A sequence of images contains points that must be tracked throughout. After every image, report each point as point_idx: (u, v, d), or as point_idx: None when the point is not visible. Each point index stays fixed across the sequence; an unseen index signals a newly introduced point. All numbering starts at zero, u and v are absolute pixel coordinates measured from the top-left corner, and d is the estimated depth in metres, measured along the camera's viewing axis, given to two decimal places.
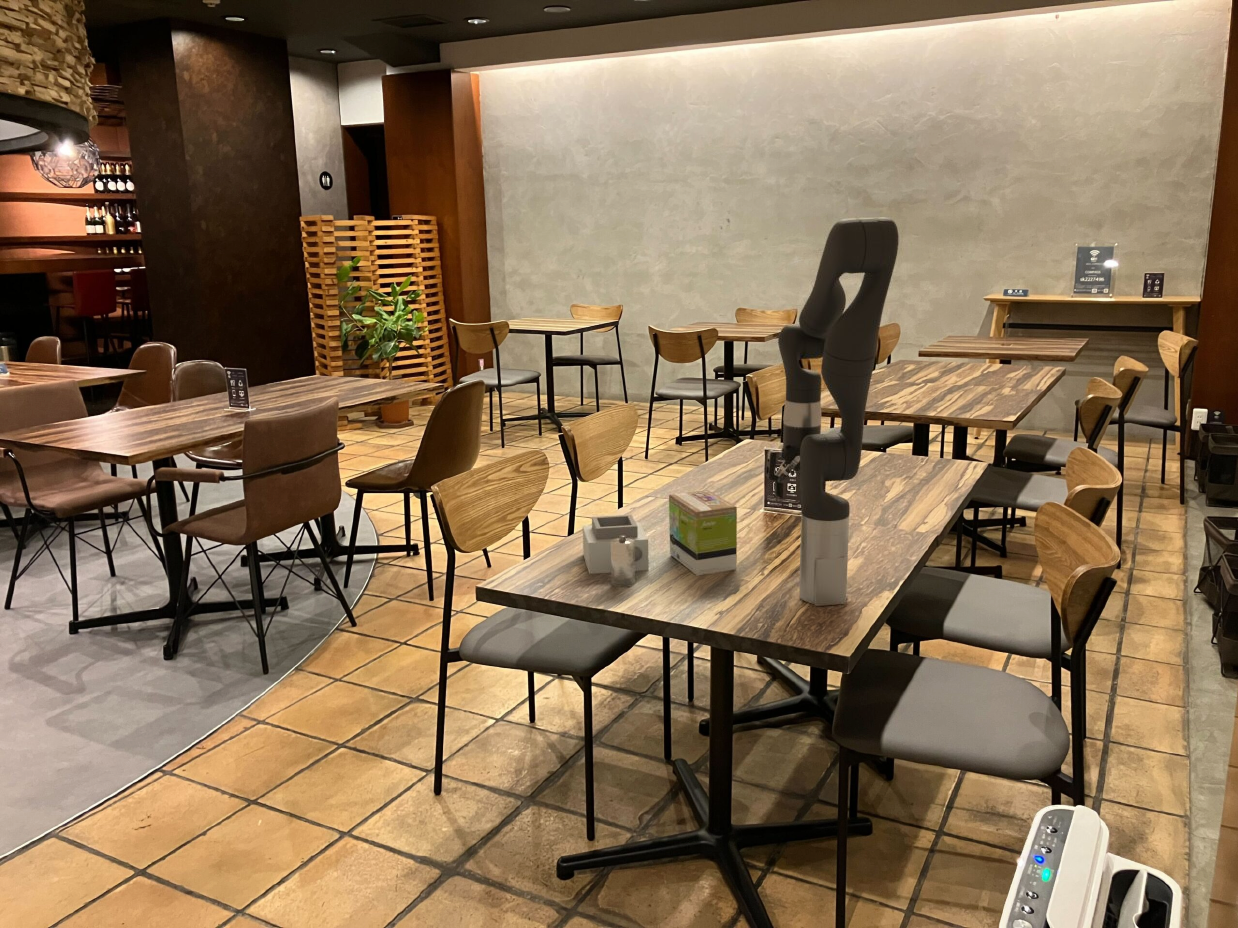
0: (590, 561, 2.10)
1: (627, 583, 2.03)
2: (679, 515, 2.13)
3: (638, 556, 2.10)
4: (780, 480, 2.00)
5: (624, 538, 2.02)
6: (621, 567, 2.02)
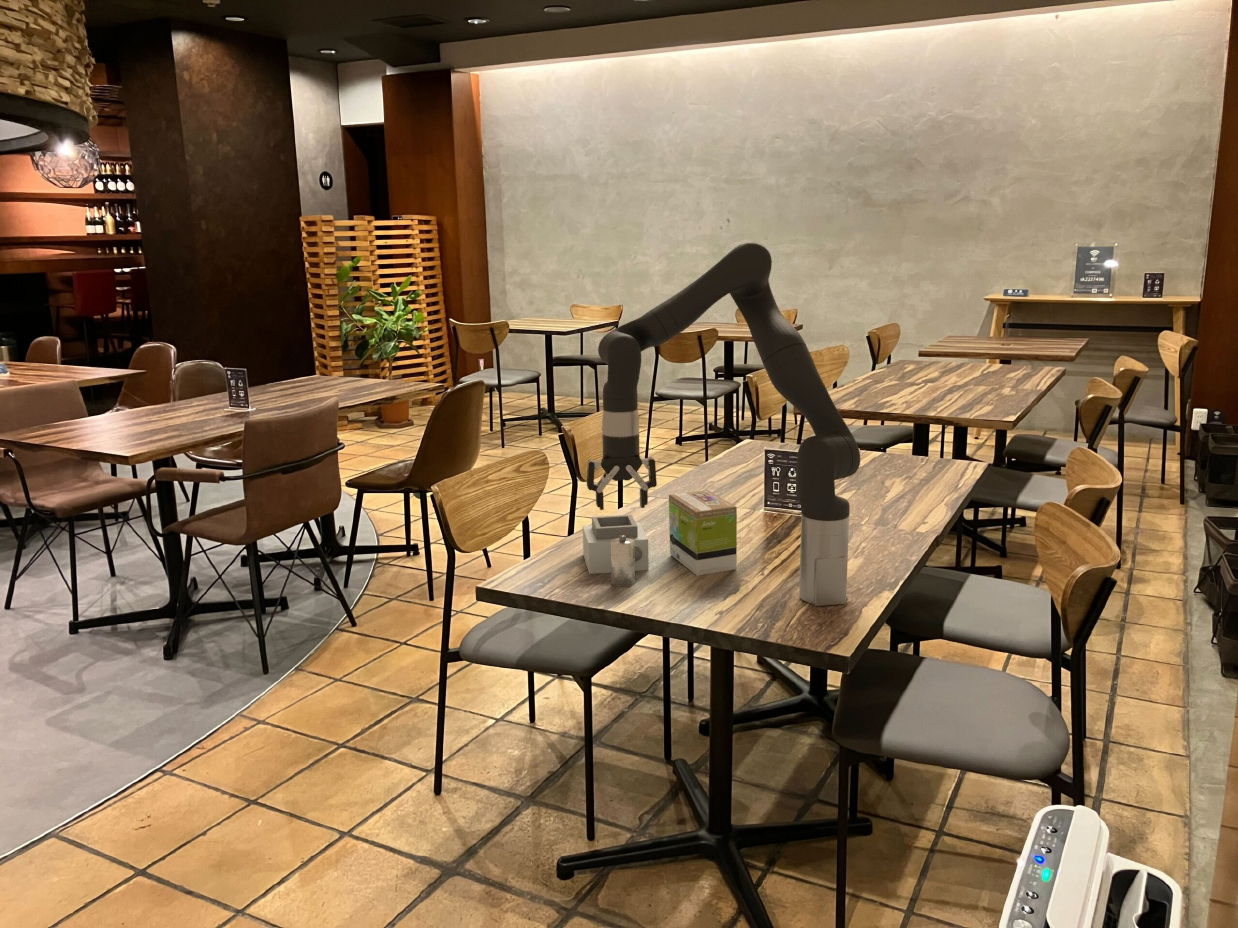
0: (590, 561, 2.10)
1: (627, 583, 2.03)
2: (679, 515, 2.13)
3: (638, 556, 2.10)
4: (600, 490, 1.99)
5: (624, 538, 2.02)
6: (621, 567, 2.02)
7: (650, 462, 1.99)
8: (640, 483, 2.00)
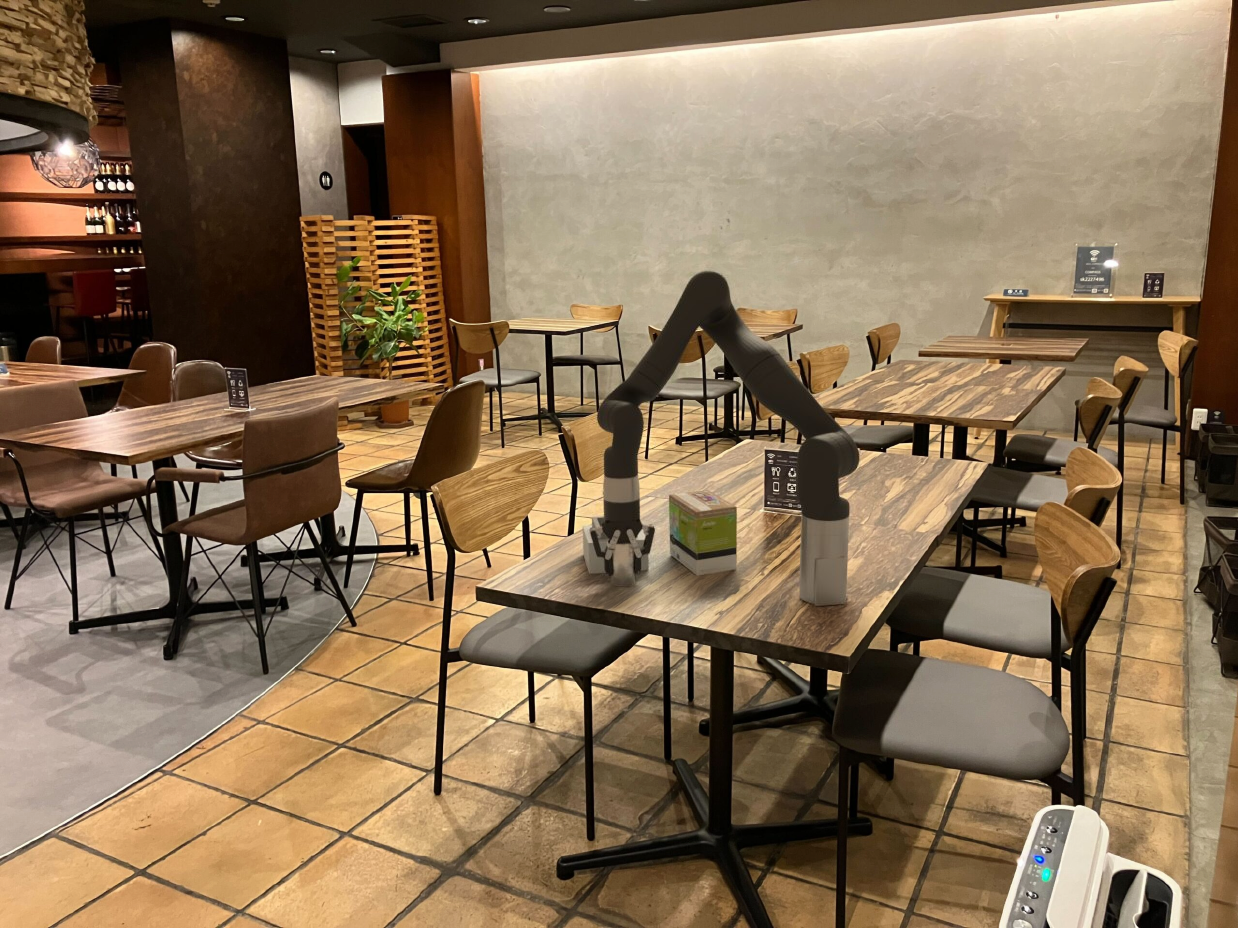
0: (590, 561, 2.10)
1: (627, 583, 2.03)
2: (679, 515, 2.13)
3: None
4: (608, 557, 2.02)
5: None
6: (621, 567, 2.02)
7: (650, 530, 2.02)
8: (635, 549, 2.02)
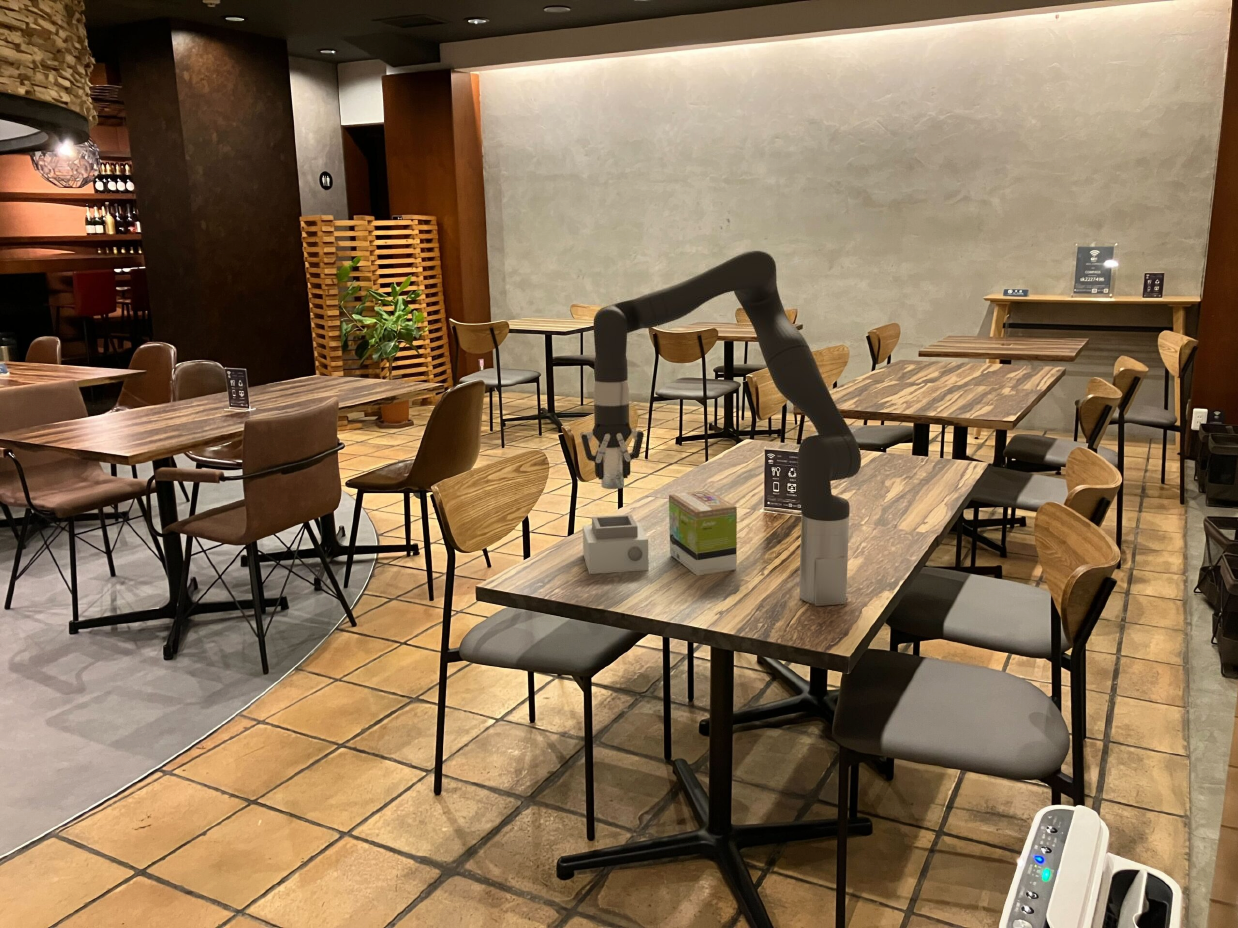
0: (590, 561, 2.10)
1: (616, 486, 2.10)
2: (679, 515, 2.13)
3: (638, 556, 2.10)
4: (598, 461, 2.09)
5: None
6: (611, 470, 2.09)
7: (639, 434, 2.09)
8: (625, 453, 2.10)
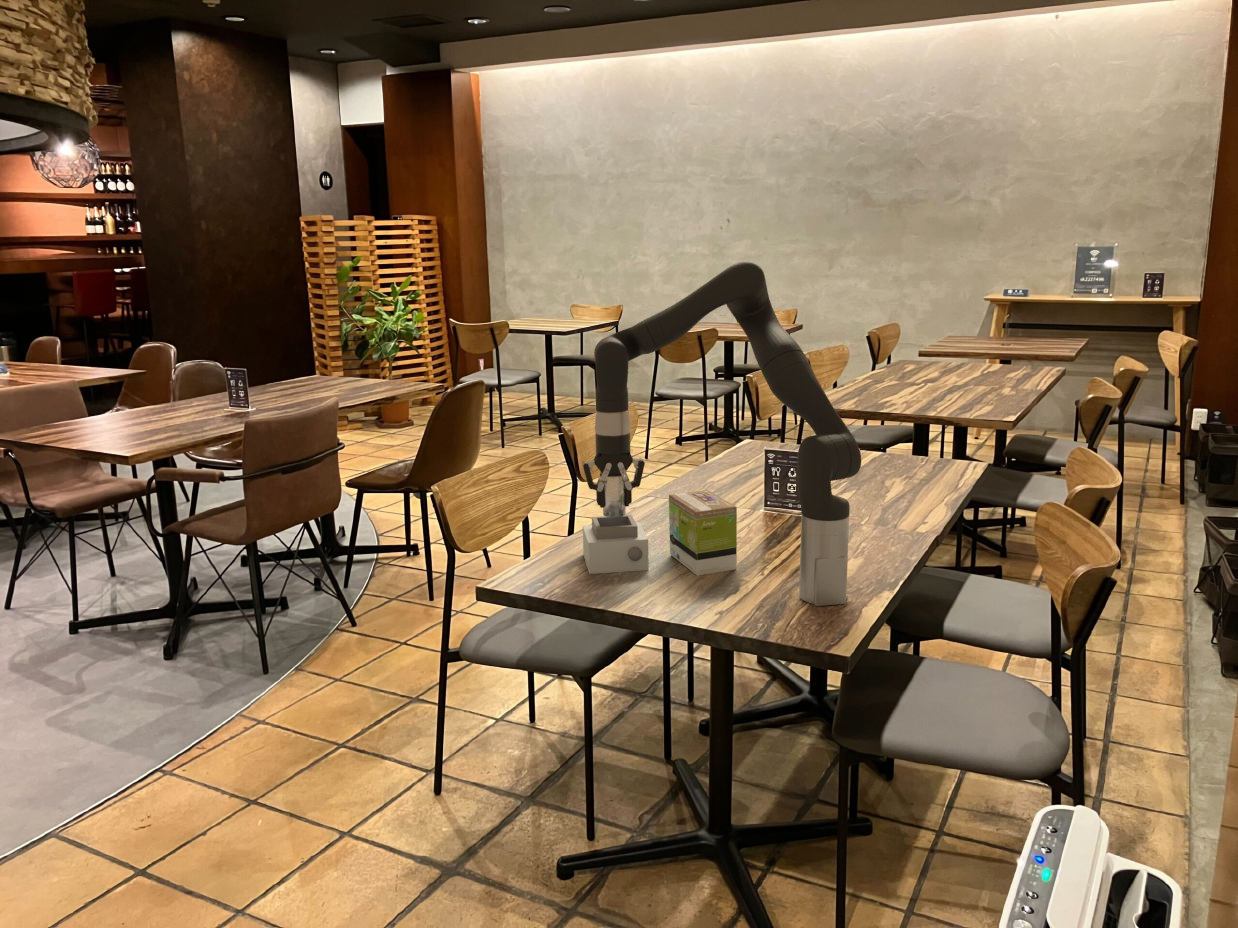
0: (590, 561, 2.10)
1: (618, 514, 2.13)
2: (679, 515, 2.13)
3: (638, 556, 2.10)
4: (600, 489, 2.12)
5: None
6: (612, 498, 2.12)
7: (640, 463, 2.12)
8: (626, 482, 2.12)
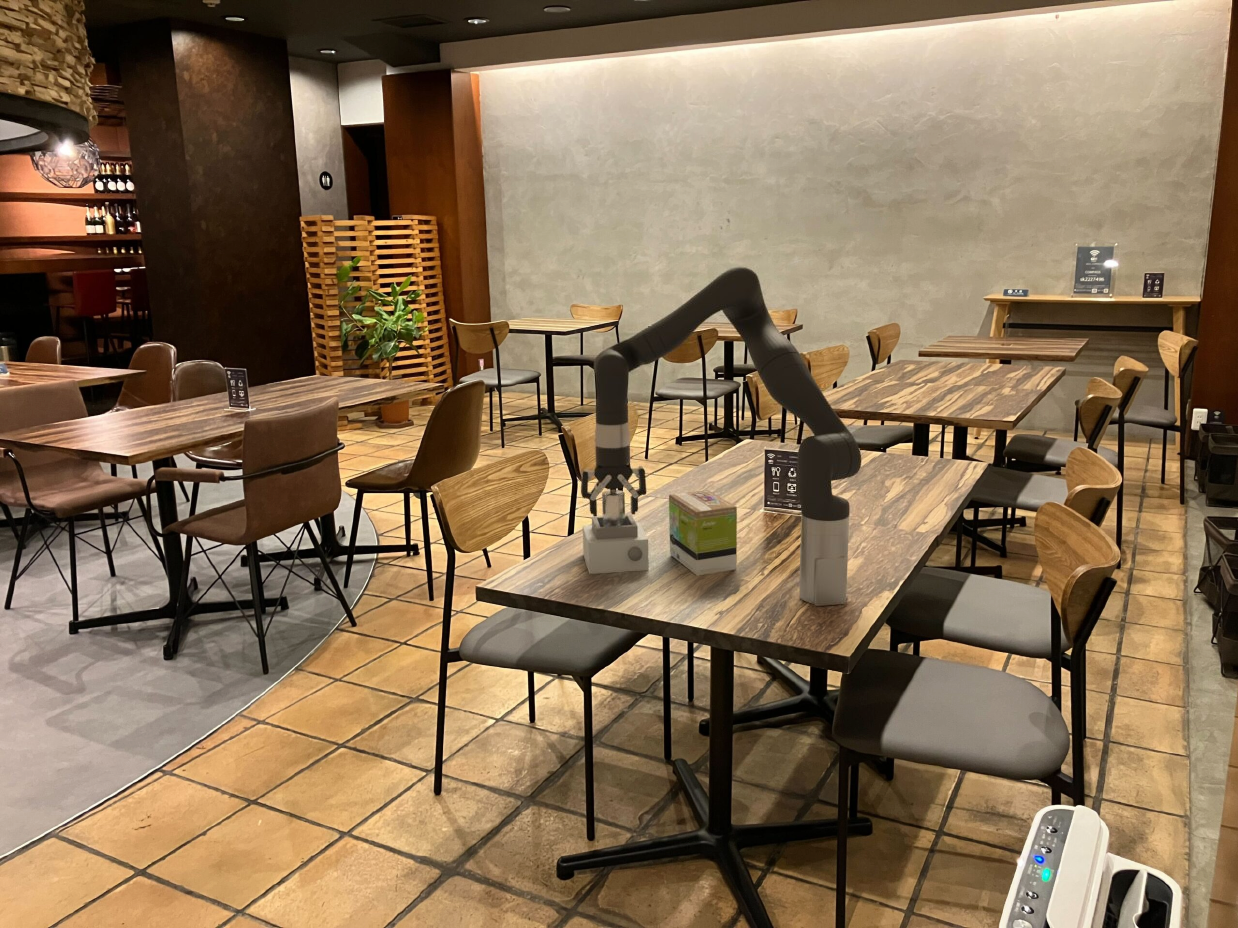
0: (590, 561, 2.10)
1: None
2: (679, 515, 2.13)
3: (638, 556, 2.10)
4: (593, 498, 2.12)
5: (615, 489, 2.13)
6: (612, 517, 2.12)
7: (640, 471, 2.12)
8: (631, 491, 2.13)
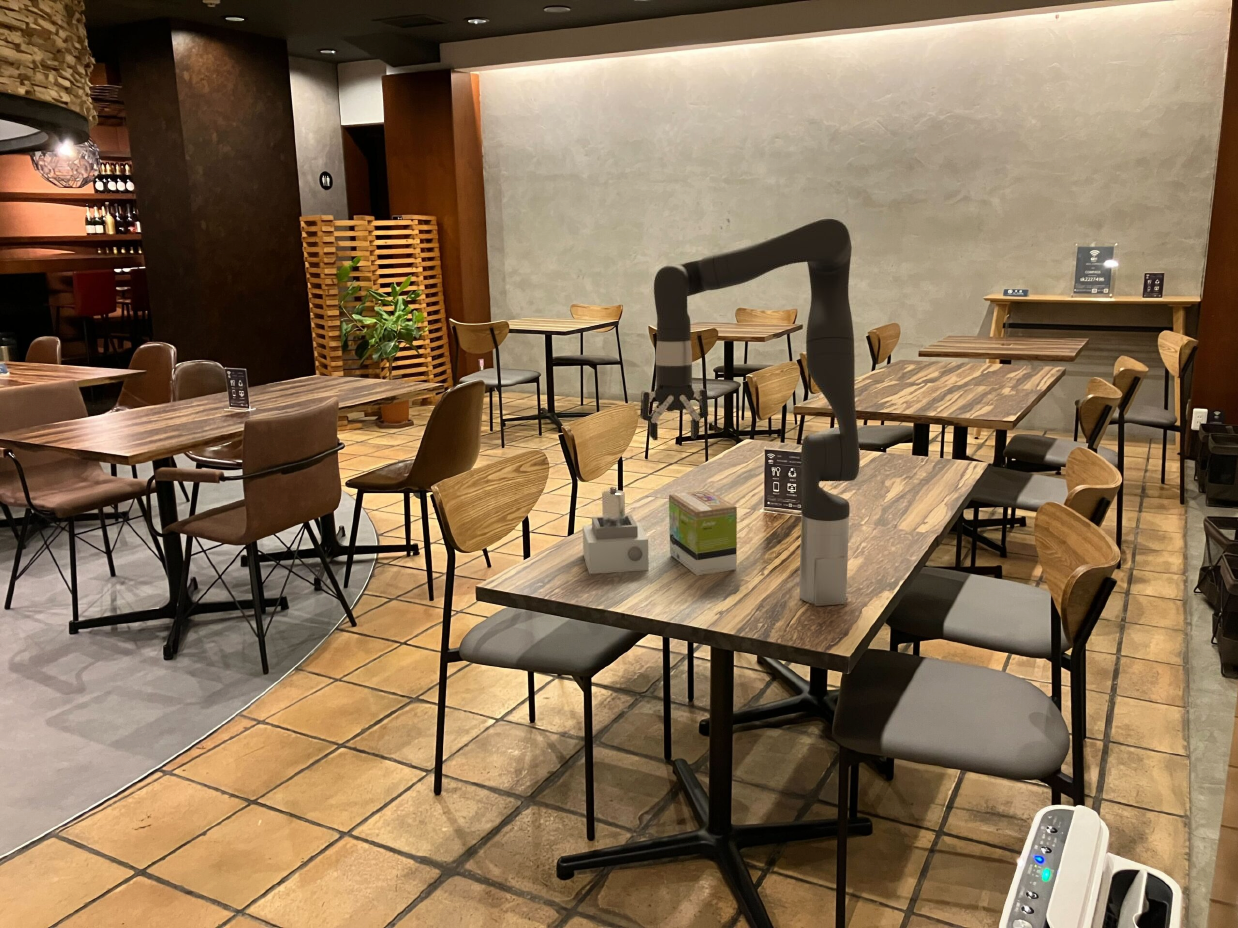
0: (590, 561, 2.10)
1: None
2: (679, 515, 2.13)
3: (638, 556, 2.10)
4: (654, 420, 2.03)
5: (615, 489, 2.13)
6: (612, 517, 2.12)
7: (702, 392, 2.04)
8: (692, 413, 2.05)
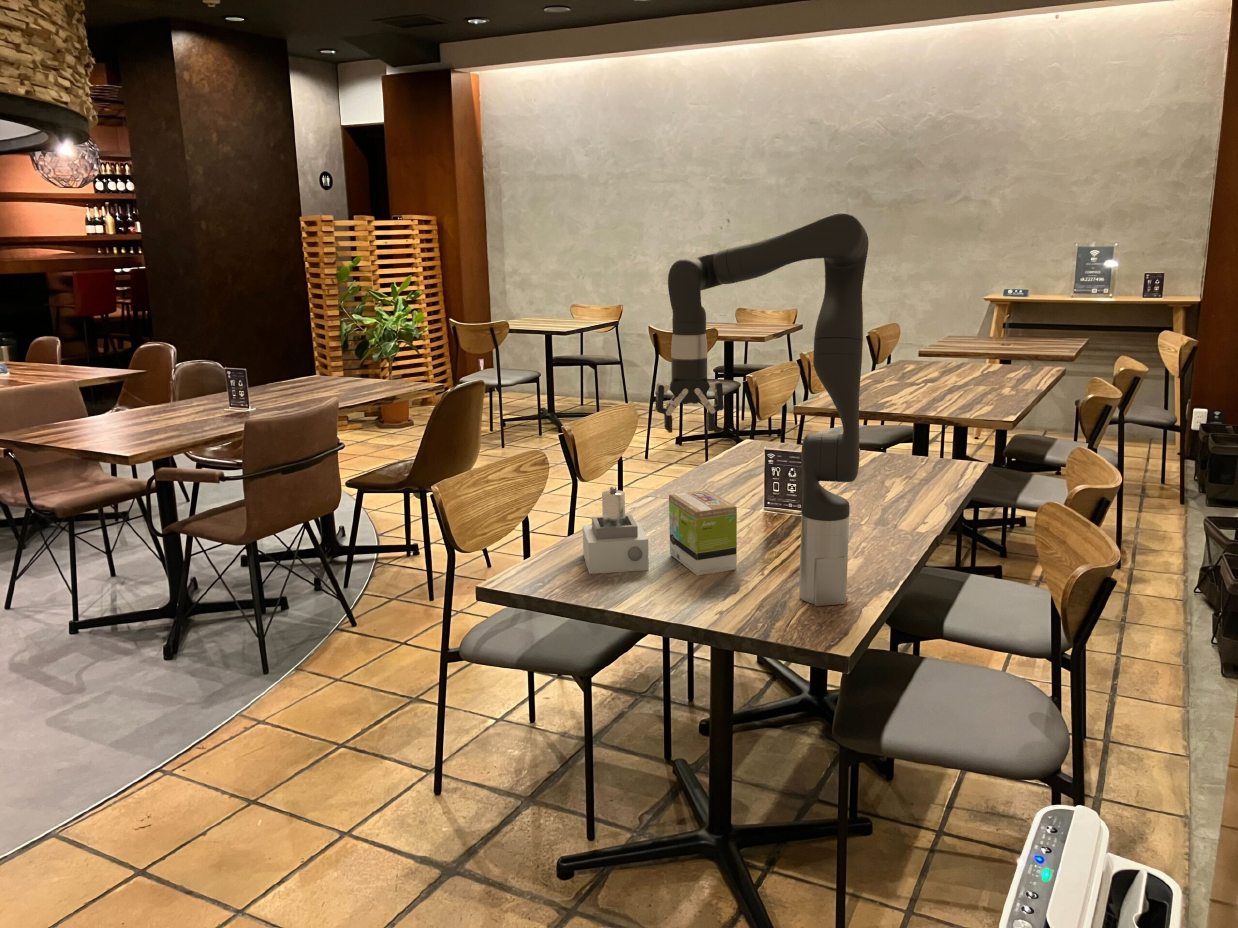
0: (590, 561, 2.10)
1: None
2: (679, 515, 2.13)
3: (638, 556, 2.10)
4: (669, 413, 2.05)
5: (615, 489, 2.13)
6: (612, 517, 2.12)
7: (717, 386, 2.05)
8: (708, 406, 2.06)
